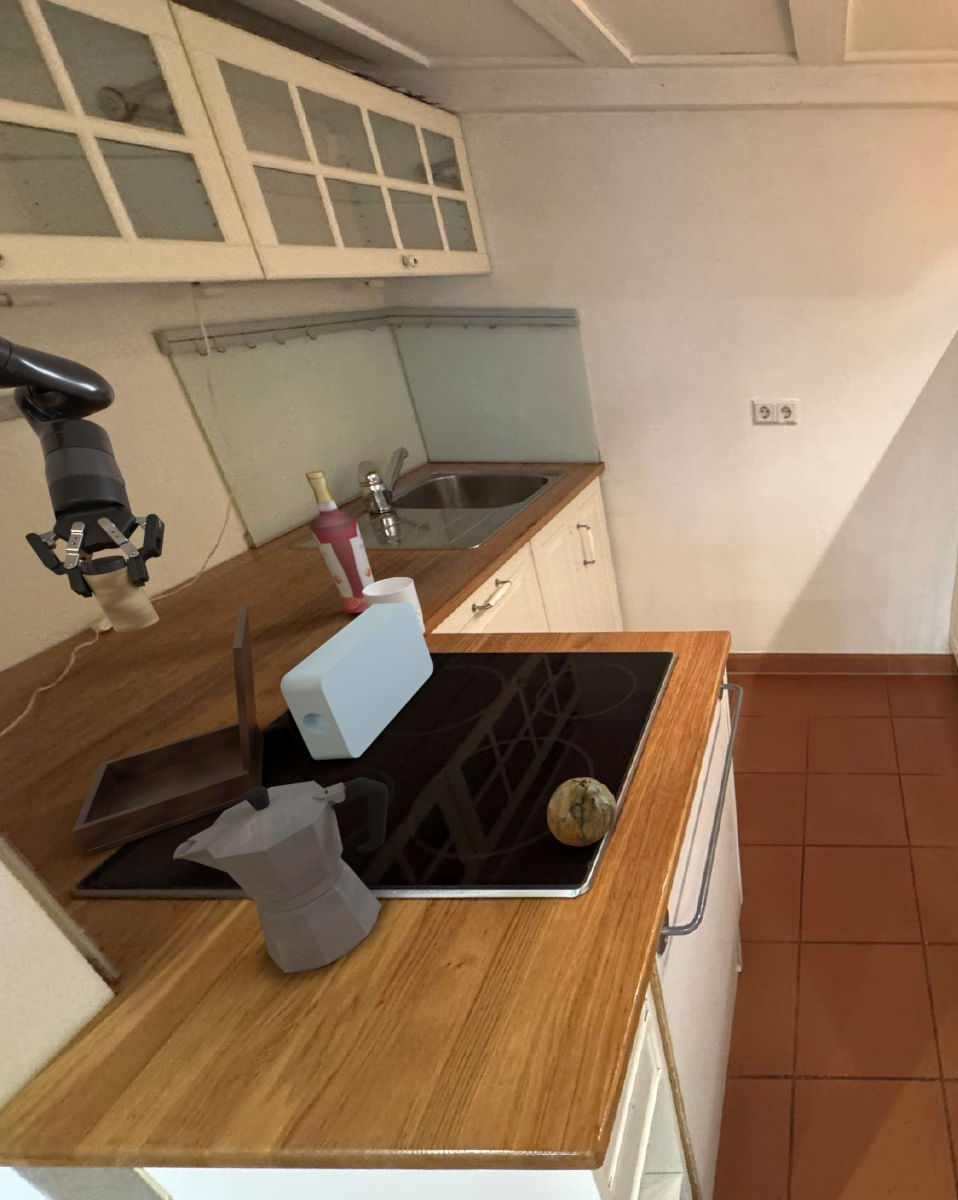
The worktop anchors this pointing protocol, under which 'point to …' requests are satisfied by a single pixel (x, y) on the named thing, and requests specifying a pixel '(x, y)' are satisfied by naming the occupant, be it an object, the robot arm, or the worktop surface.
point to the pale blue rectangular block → (358, 681)
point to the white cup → (394, 594)
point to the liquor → (340, 546)
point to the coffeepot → (297, 867)
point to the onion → (581, 811)
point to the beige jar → (118, 594)
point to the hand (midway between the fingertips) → (112, 589)
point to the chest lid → (244, 686)
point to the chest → (167, 787)
